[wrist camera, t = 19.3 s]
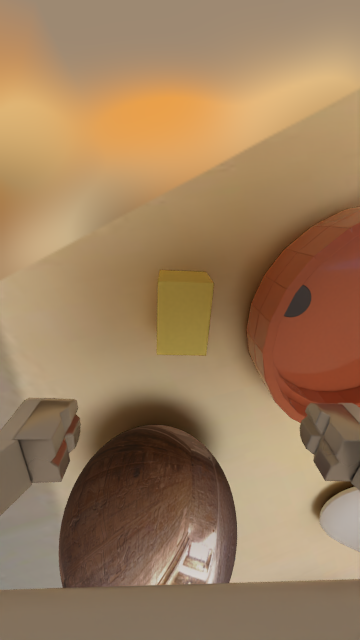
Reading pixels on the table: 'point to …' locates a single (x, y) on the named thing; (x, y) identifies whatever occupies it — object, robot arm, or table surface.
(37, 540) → the table surface
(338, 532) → the flower in vase
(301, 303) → the dark grey flat disc
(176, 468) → the wooden sphere
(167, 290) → the sponge
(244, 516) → the table surface
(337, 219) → the bowl
